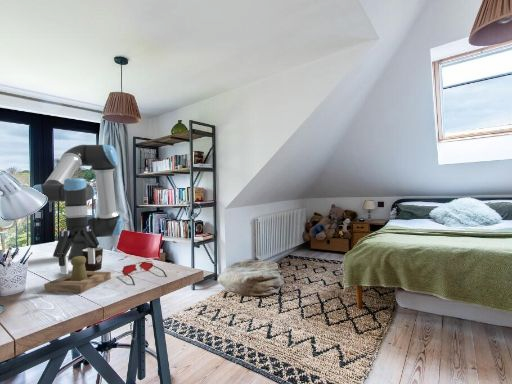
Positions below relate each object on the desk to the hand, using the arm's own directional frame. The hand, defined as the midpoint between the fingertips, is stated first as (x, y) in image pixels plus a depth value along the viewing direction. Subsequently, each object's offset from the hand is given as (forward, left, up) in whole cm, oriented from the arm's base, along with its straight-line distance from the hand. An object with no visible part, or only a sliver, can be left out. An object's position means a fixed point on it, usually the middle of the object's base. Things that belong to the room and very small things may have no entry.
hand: (78, 268), depth 110 cm
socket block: (0, 0, -7) cm, 7 cm away
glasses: (-12, +21, -7) cm, 25 cm away
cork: (0, 0, -6) cm, 6 cm away
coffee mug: (-18, -11, -7) cm, 22 cm away
